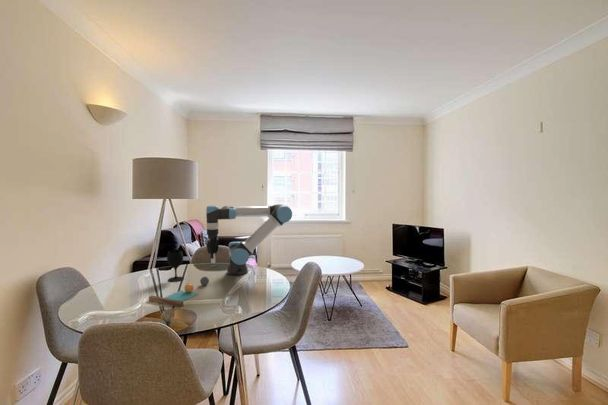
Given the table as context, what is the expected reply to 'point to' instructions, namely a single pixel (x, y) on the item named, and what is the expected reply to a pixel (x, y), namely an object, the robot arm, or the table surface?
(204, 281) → the charcoal ball
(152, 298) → the stopper wall
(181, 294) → the teal mark
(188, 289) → the orange ball
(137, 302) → the table surface
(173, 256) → the wine glass
